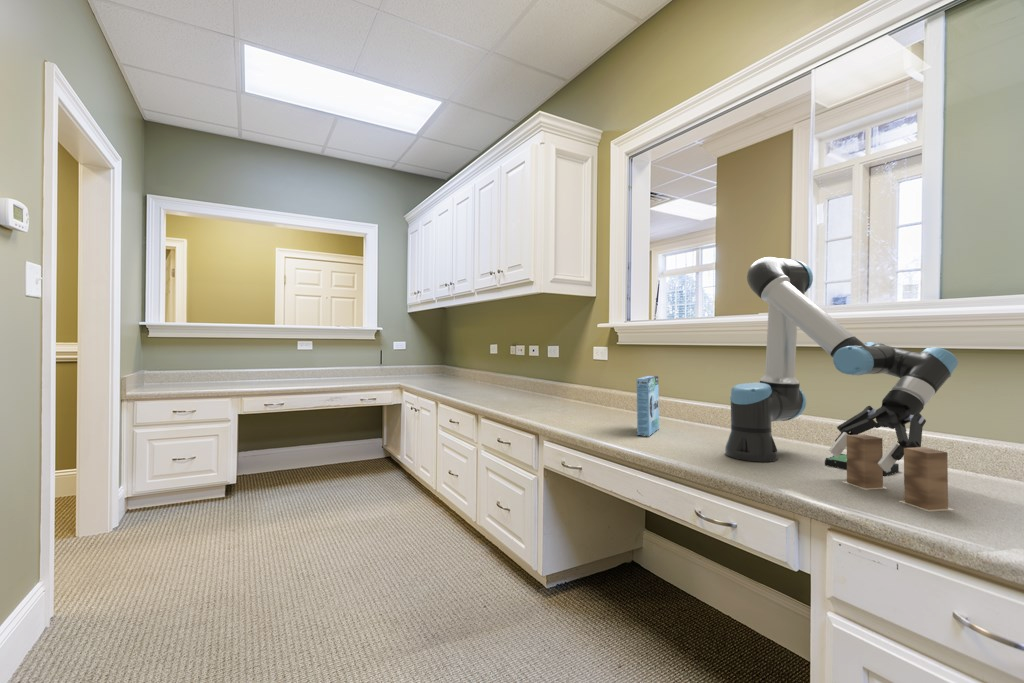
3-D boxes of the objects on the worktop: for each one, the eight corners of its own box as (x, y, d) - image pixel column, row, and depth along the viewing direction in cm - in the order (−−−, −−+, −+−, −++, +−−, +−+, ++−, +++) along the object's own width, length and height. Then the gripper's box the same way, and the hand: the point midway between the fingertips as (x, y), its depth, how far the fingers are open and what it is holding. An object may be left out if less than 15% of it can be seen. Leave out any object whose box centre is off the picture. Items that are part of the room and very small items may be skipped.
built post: (904, 501, 101) (903, 447, 101) (923, 500, 102) (922, 447, 102) (928, 510, 96) (927, 453, 96) (948, 508, 97) (947, 452, 97)
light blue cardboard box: (649, 437, 178) (648, 379, 178) (636, 436, 181) (635, 378, 181) (659, 429, 195) (659, 375, 195) (647, 428, 198) (647, 375, 198)
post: (847, 482, 115) (846, 435, 115) (864, 481, 116) (863, 434, 116) (865, 488, 110) (864, 439, 110) (882, 487, 111) (882, 438, 111)
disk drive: (899, 473, 130) (839, 461, 142) (899, 463, 130) (839, 452, 142) (884, 479, 124) (824, 466, 137) (884, 469, 124) (824, 457, 137)
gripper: (972, 416, 103) (917, 485, 101) (870, 402, 128) (824, 458, 126) (952, 393, 103) (896, 463, 100) (853, 384, 127) (806, 439, 125)
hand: (856, 460), depth 113 cm, fingers open, 13 cm apart
